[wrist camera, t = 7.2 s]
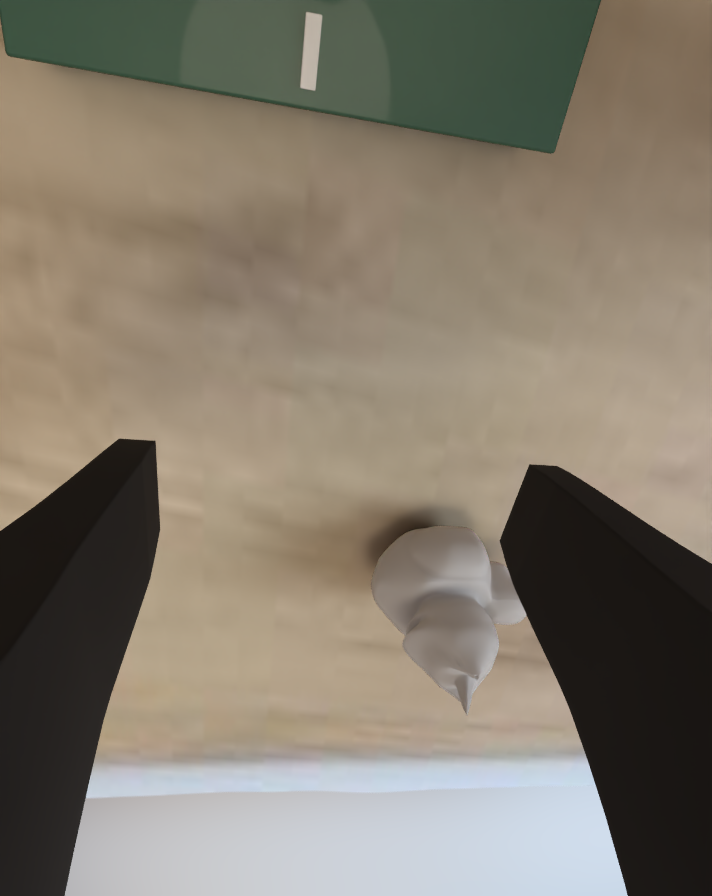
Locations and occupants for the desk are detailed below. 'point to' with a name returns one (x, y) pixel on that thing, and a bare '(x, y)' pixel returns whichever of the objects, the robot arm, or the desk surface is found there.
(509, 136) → the console
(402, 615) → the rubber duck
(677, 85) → the desk surface
